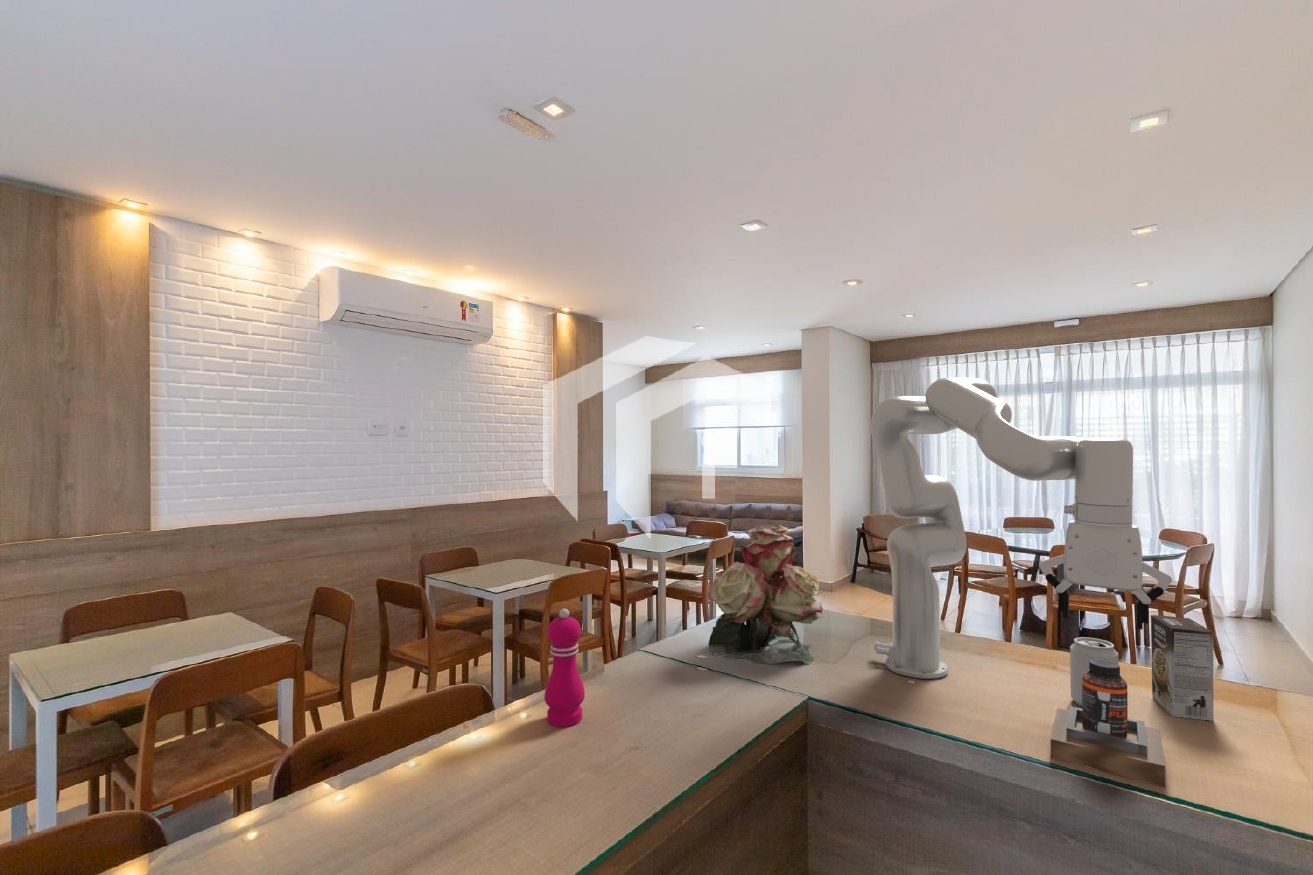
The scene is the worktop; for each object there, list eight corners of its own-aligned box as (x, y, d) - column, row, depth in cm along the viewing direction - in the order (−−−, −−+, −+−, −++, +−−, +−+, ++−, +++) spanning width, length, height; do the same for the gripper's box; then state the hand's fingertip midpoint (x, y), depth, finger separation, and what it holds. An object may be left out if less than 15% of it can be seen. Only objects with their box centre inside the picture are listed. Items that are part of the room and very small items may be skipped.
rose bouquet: (699, 661, 142) (698, 530, 142) (733, 626, 169) (732, 516, 169) (814, 676, 132) (813, 536, 132) (830, 636, 159) (829, 519, 159)
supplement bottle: (1115, 746, 95) (1114, 672, 95) (1074, 730, 100) (1073, 660, 101) (1135, 737, 98) (1135, 665, 98) (1094, 722, 103) (1094, 654, 103)
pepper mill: (591, 713, 115) (590, 605, 115) (573, 731, 108) (573, 615, 108) (556, 708, 117) (556, 602, 117) (537, 725, 110) (536, 612, 110)
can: (1127, 715, 113) (1126, 648, 113) (1081, 711, 114) (1080, 646, 114) (1106, 698, 120) (1106, 636, 120) (1063, 695, 122) (1063, 634, 122)
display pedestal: (1050, 757, 98) (1050, 729, 98) (1057, 725, 109) (1057, 699, 109) (1165, 786, 89) (1165, 755, 89) (1160, 748, 101) (1159, 720, 101)
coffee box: (1150, 697, 120) (1149, 614, 121) (1191, 701, 118) (1189, 616, 118) (1171, 717, 112) (1170, 627, 112) (1215, 722, 110) (1214, 630, 110)
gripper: (1037, 513, 102) (1036, 617, 102) (1174, 522, 91) (1173, 638, 92) (1041, 508, 108) (1040, 606, 108) (1171, 517, 97) (1169, 625, 98)
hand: (1101, 621), depth 100 cm, fingers open, 9 cm apart
